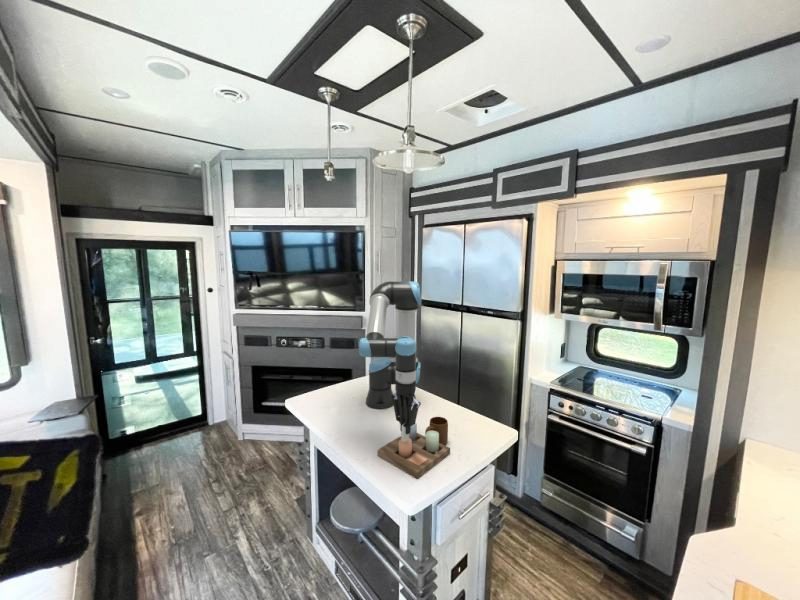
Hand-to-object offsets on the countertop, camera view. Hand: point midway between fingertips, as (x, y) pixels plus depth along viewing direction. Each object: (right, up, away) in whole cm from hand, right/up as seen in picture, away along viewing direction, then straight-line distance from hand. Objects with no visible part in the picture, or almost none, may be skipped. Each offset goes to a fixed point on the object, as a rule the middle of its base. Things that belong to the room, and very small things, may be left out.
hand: (405, 440), depth 124 cm
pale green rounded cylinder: (+11, -4, +3) cm, 12 cm away
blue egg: (+2, -4, +11) cm, 11 cm away
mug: (+12, -6, +11) cm, 18 cm away
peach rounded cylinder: (0, -6, +1) cm, 6 cm away
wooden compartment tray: (+3, -7, +3) cm, 8 cm away
